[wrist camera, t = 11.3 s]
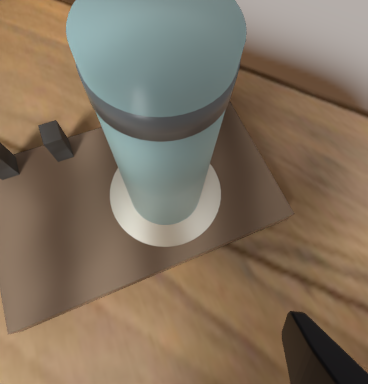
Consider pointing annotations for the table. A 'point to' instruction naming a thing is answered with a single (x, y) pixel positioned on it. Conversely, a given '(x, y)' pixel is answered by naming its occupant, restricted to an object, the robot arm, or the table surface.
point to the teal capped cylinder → (159, 90)
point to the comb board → (113, 220)
